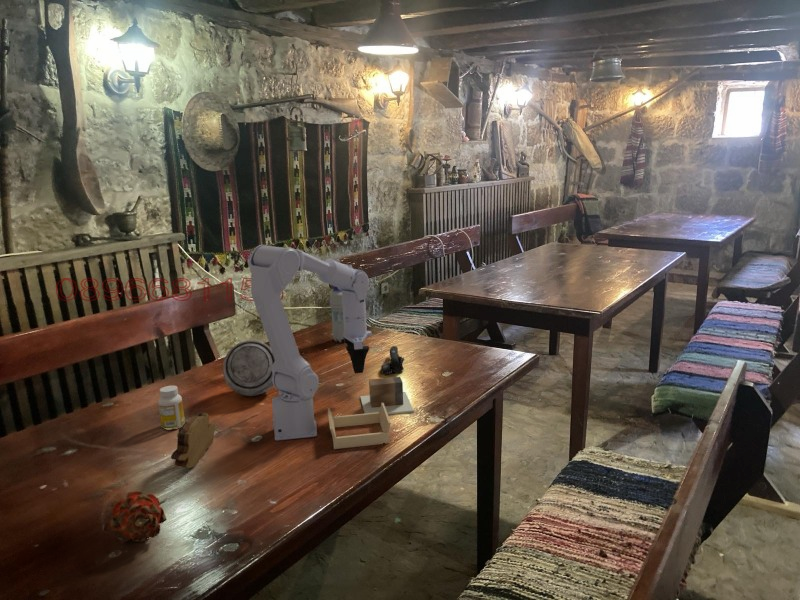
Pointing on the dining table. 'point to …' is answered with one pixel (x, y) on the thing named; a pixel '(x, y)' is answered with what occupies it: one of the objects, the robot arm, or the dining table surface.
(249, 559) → the dining table surface
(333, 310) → the bottle
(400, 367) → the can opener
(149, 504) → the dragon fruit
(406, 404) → the mat
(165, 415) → the supplement bottle
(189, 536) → the dining table surface
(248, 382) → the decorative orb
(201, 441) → the wooden carving
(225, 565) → the dining table surface
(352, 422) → the wooden box
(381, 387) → the block
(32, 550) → the dining table surface
